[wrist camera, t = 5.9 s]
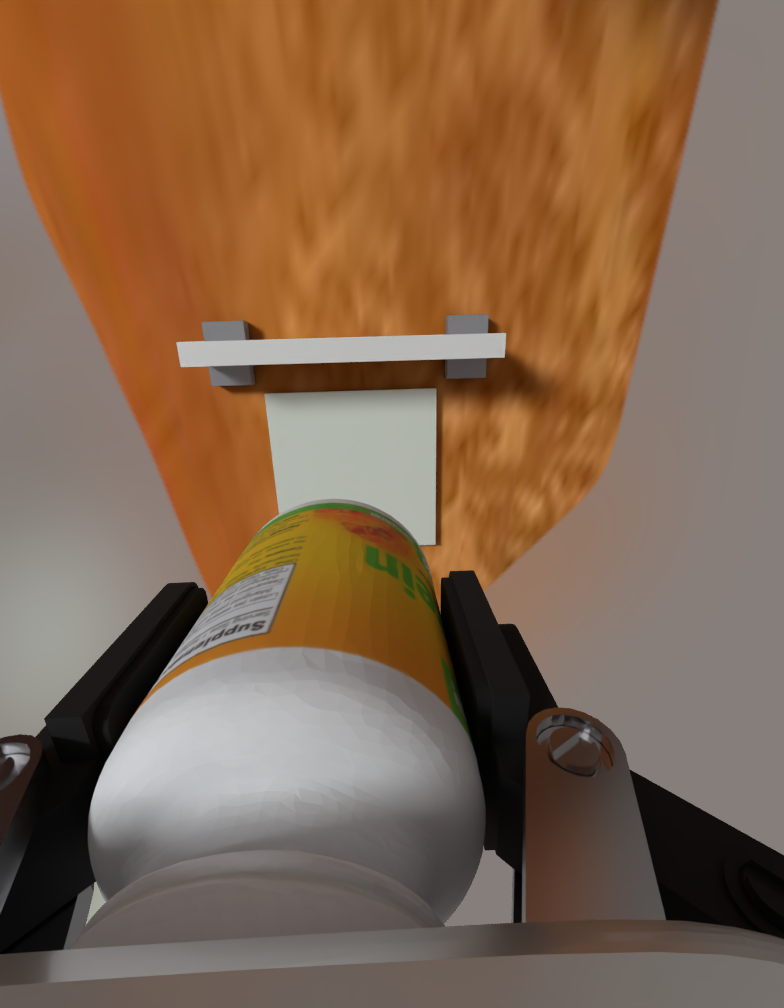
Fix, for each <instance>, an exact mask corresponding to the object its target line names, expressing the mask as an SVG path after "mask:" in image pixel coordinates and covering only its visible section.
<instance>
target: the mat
mask: <svg viewBox="0 0 784 1008" xmlns="http://www.w3.org/2000/svg"><path fill="white" fill-rule="evenodd" d="M265 402H266V410H267V418H268V427H269V435H270V443H271V451H272V459H273V468H274V476H275V484H276V492H277V500H278V509H279V514H281V513H283V512H285V511H286V510H288V509H291V508H293V507H295V506H298V505H301V504H304V503H307V502H311V501H316V500H323V499H346V500H353V501H358V502H361V503H365V504H368V505H371V506H373V507H376V508H378V509H380V510H382V511H384V512H385V513H387V514H389V515H391V516H392V517H393V518H395V519H396V520H397V521H398V522H400V523H401V524H402V525H403V526H404V527H405V528H406V529H407V530H408V531H409V532H410V533H411V534H412V536H413V537H414V538H415V539H416V541H417V543H418V544H419V545H435V537H436V388H423V389H391V390H359V391H327V392H295V393H266V394H265Z"/></svg>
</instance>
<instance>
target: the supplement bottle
mask: <svg viewBox="0 0 784 1008" xmlns="http://www.w3.org/2000/svg"><path fill="white" fill-rule="evenodd" d="M485 825H486V807H485V799H484V793H483V787H482V781H481V777H480V773H479V769H478V762H477V757H476V754H475V750H474V746H473V742H472V738H471V735H470V731H469V727H468V723H467V719H466V715H465V711H464V707H463V703H462V699H461V695H460V691H459V687H458V683H457V679H456V675H455V671H454V667H453V664H452V660H451V656H450V651H449V647H448V643H447V639H446V635H445V631H444V627H443V623H442V619H441V615H440V611H439V607H438V603H437V599H436V595H435V590H434V586H433V582H432V577H431V573H430V570H429V567H428V564H427V561H426V558H425V556H424V554H423V552H422V550H421V548H420V546H419V544H418V543H417V541H416V539H415V538H414V537H413V536H412V534H411V533H410V532H409V531H408V530H407V529H406V528H405V527H404V526H403V525H402V524H401V523H400V522H398V521H397V520H396V519H395V518H393V517H392V516H391V515H389V514H387V513H385V512H384V511H382V510H380V509H378V508H376V507H373V506H371V505H368V504H365V503H361V502H358V501H353V500H346V499H323V500H316V501H311V502H307V503H304V504H301V505H298V506H295V507H293V508H291V509H288V510H286V511H285V512H283V513H281V514H279V515H278V516H276V517H275V518H273V519H272V520H270V521H269V522H268V523H267V524H266V525H265V526H264V527H263V528H262V529H261V530H260V531H259V532H258V533H257V534H256V536H255V537H254V538H253V539H252V541H251V542H250V543H249V544H248V546H247V547H246V549H245V550H244V552H243V553H242V554H241V556H240V557H239V559H238V560H237V562H236V563H235V565H234V566H233V568H232V569H231V571H230V572H229V574H228V575H227V577H226V578H225V580H224V581H223V583H222V584H221V586H220V587H219V589H218V590H217V591H216V593H215V594H214V596H213V597H212V599H211V600H210V602H209V603H208V605H207V606H206V608H205V609H204V611H203V612H202V614H201V615H200V617H199V619H198V620H197V622H196V623H195V625H194V626H193V628H192V629H191V631H190V632H189V634H188V635H187V637H186V638H185V640H184V641H183V643H182V644H181V646H180V647H179V649H178V650H177V652H176V653H175V655H174V656H173V658H172V659H171V661H170V662H169V664H168V665H167V667H166V668H165V669H164V671H163V672H162V674H161V675H160V677H159V678H158V680H157V681H156V683H155V684H154V686H153V687H152V689H151V690H150V692H149V693H148V695H147V696H146V698H145V699H144V701H143V702H142V704H141V705H140V706H139V708H138V709H137V711H136V712H135V714H134V715H133V717H132V718H131V720H130V722H129V723H128V725H127V727H126V729H125V730H124V732H123V734H122V735H121V737H120V738H119V740H118V742H117V744H116V745H115V747H114V749H113V751H112V752H111V754H110V756H109V758H108V759H107V761H106V763H105V765H104V767H103V770H102V772H101V774H100V777H99V779H98V782H97V785H96V787H95V791H94V794H93V797H92V801H91V806H90V811H89V816H88V849H89V855H90V861H91V866H92V869H93V873H94V876H95V880H96V882H97V885H98V887H99V889H100V892H101V894H102V896H103V898H104V899H105V901H106V903H105V904H104V905H103V906H102V907H101V908H100V909H99V910H98V911H97V912H96V913H95V914H94V916H93V917H92V918H91V919H90V921H89V922H88V923H87V925H86V926H85V928H84V929H83V931H82V932H81V934H80V936H79V938H78V940H77V942H76V943H75V944H74V945H73V946H72V947H71V949H85V948H101V947H117V946H132V945H148V944H164V943H180V942H195V941H211V940H227V939H244V938H260V937H276V936H292V935H308V934H325V933H343V932H361V931H379V930H396V929H414V928H432V927H445V925H444V923H445V922H446V921H447V920H448V919H449V918H450V916H451V915H452V914H453V913H454V911H455V910H456V909H457V907H458V906H459V905H460V903H461V902H462V901H463V899H464V897H465V895H466V893H467V891H468V889H469V888H470V886H471V884H472V881H473V879H474V877H475V874H476V871H477V869H478V865H479V863H480V859H481V856H482V852H483V845H484V837H485ZM71 949H70V950H71Z"/></svg>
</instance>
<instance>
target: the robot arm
mask: <svg viewBox="0 0 784 1008" xmlns="http://www.w3.org/2000/svg"><path fill="white" fill-rule="evenodd" d="M207 605H208V600H207V595H206V591H205V590H204V589H203V588H198V586H197V584H196V583H194V582H188V583H187V582H186V583H169V584H167V585H166V586H165V587H164V588H163V589H162V590H161V591H160V592H159V593H158V594H157V596H156V597H155V598H154V599H153V600H152V601H151V602H150V603H149V604H148V605H147V607H146V608H145V609H144V610H143V611H142V612H141V613H140V614H139V615H138V617H136V619H135V620H134V621H133V622H132V623H131V624H130V625H129V626H128V627H127V628H126V630H125V631H124V632H123V633H122V634H121V635H120V636H119V637H118V638H117V639H116V641H115V642H114V643H113V644H112V645H111V646H110V647H109V648H108V649H107V651H105V653H104V654H103V655H102V656H101V657H100V658H99V659H98V660H97V662H95V664H94V665H93V666H92V667H91V668H90V669H89V670H88V671H87V672H86V673H85V675H84V676H83V677H82V678H81V679H80V680H79V681H78V682H77V683H76V684H75V686H74V687H73V688H72V689H71V690H70V691H69V692H68V693H67V694H66V695H65V697H64V698H63V699H62V700H61V701H60V702H59V703H58V704H57V705H56V706H55V707H54V709H53V710H52V711H51V712H50V713H49V714H48V715H47V716H46V717H45V718H44V720H45V722H46V726H45V727H44V728H43V729H42V730H41V731H40V733H39V734H38V735H37V736H36V737H34V736H32V735H21V734H19V735H13V736H7V737H3V738H0V1008H784V855H782V854H780V853H778V852H777V851H775V850H773V849H771V848H770V847H768V846H766V845H764V844H762V843H760V842H759V841H757V840H755V839H753V838H752V837H750V836H748V835H746V834H744V833H743V832H741V831H739V830H737V829H735V828H734V827H732V826H730V825H728V824H727V823H725V822H723V821H721V820H719V819H718V818H716V817H714V816H712V815H710V814H709V813H707V812H705V811H703V810H701V809H700V808H698V807H696V806H694V805H692V804H691V803H689V802H687V801H685V800H683V799H681V798H680V797H678V796H676V795H675V794H673V793H671V792H669V791H667V790H666V789H664V788H662V787H660V786H658V785H657V784H655V783H653V782H651V781H649V780H648V779H646V778H644V777H642V776H640V775H638V774H637V773H635V772H633V771H631V770H630V769H629V766H628V762H627V757H626V754H625V751H624V749H623V747H622V744H621V742H620V740H619V739H618V738H617V737H616V736H615V734H614V733H613V732H612V731H611V729H609V728H608V727H607V726H605V725H604V724H603V723H602V722H600V721H599V720H598V719H596V718H594V717H592V716H590V715H588V714H586V713H584V712H581V711H577V710H574V709H570V708H558V706H557V704H556V702H555V700H554V698H553V696H552V694H551V693H550V691H549V689H548V687H547V685H546V683H545V681H544V679H543V677H542V675H541V673H540V671H539V669H538V667H537V665H536V663H535V662H534V660H533V658H532V656H531V654H530V652H529V650H528V648H527V646H526V644H525V642H524V640H523V638H522V636H521V634H520V633H519V631H518V629H517V627H516V626H515V625H513V624H498V623H497V621H496V618H495V616H494V614H493V612H492V610H491V608H490V605H489V603H488V601H487V599H486V597H485V594H484V592H483V590H482V588H481V585H480V583H479V581H478V579H477V577H476V574H475V572H474V571H450V573H449V577H448V578H442V579H441V619H442V623H443V627H444V631H445V635H446V639H447V643H448V647H449V651H450V656H451V660H452V664H453V667H454V671H455V675H456V679H457V683H458V687H459V691H460V695H461V699H462V703H463V707H464V711H465V715H466V719H467V723H468V727H469V731H470V735H471V738H472V742H473V746H474V750H475V754H476V757H477V762H478V769H479V773H480V777H481V781H482V787H483V793H484V799H485V807H486V825H485V837H484V849H485V850H495V851H496V854H497V855H498V856H499V857H500V858H501V859H502V860H504V861H505V862H506V863H507V864H509V865H510V866H511V867H512V868H513V884H512V919H511V923H505V924H504V923H503V924H485V925H468V926H449V927H432V928H414V929H396V930H379V931H361V932H343V933H325V934H308V935H292V936H276V937H260V938H244V939H227V940H211V941H195V942H180V943H164V944H148V945H132V946H117V947H101V948H85V949H71V947H72V946H73V945H74V944H75V943H76V942H77V940H78V938H79V936H80V934H81V932H82V931H83V929H84V928H85V925H86V921H87V917H88V913H89V909H90V904H91V900H92V896H93V891H94V882H96V880H95V876H94V873H93V869H92V866H91V861H90V855H89V849H88V816H89V811H90V806H91V801H92V797H93V794H94V791H95V787H96V785H97V782H98V779H99V777H100V774H101V772H102V770H103V767H104V765H105V763H106V761H107V759H108V758H109V756H110V754H111V752H112V751H113V749H114V747H115V745H116V744H117V742H118V740H119V738H120V737H121V735H122V734H123V732H124V730H125V729H126V727H127V725H128V723H129V722H130V720H131V718H132V717H133V715H134V714H135V712H136V711H137V709H138V708H139V706H140V705H141V704H142V702H143V701H144V699H145V698H146V696H147V695H148V693H149V692H150V690H151V689H152V687H153V686H154V684H155V683H156V681H157V680H158V678H159V677H160V675H161V674H162V672H163V671H164V669H165V668H166V667H167V665H168V664H169V662H170V661H171V659H172V658H173V656H174V655H175V653H176V652H177V650H178V649H179V647H180V646H181V644H182V643H183V641H184V640H185V638H186V637H187V635H188V634H189V632H190V631H191V629H192V628H193V626H194V625H195V623H196V622H197V620H198V619H199V617H200V615H201V614H202V612H203V611H204V609H205V608H206V606H207ZM70 949H71V950H70Z"/></svg>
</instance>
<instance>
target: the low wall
mask: <svg viewBox="0 0 784 1008" xmlns="http://www.w3.org/2000/svg"><path fill="white" fill-rule="evenodd" d="M488 317H489V314H481V315H448V316H446V330H445V335H414V336H378V337H342V338H307V339H271V340H250V336H249V328H248V322H245V321H221V322H202V328H203V335H204V341H200V342H176V343H177V348H178V354H179V359H180V365H181V367H200V366H209V372H210V378H211V384H212V386H231V385H253V384H256V383H255V375H254V367H253V365H268V364H301V363H335V362H369V361H403V360H437V359H445V378H446V379H460V378H486V363H487V358H505V343H506V333H488Z"/></svg>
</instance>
